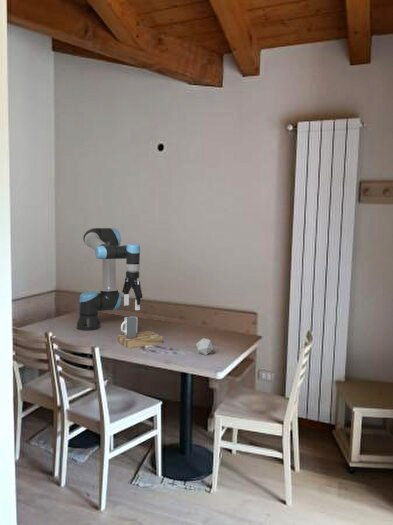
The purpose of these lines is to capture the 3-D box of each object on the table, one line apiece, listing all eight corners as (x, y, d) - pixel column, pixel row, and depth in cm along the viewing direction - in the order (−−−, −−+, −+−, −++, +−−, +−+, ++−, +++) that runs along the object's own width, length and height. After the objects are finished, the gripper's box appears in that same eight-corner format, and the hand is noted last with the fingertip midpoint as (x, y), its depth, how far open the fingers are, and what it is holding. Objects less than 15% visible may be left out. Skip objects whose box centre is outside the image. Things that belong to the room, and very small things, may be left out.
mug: (124, 337, 284) (125, 321, 282) (116, 334, 289) (116, 318, 288) (140, 334, 292) (140, 318, 291) (131, 331, 298) (131, 315, 297)
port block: (117, 342, 274) (118, 335, 273) (150, 337, 286) (150, 330, 286) (129, 348, 262) (129, 341, 262) (162, 343, 275) (162, 336, 275)
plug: (126, 343, 271) (126, 316, 270) (132, 342, 274) (133, 316, 272) (129, 345, 268) (130, 318, 266) (135, 344, 270) (136, 317, 269)
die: (198, 351, 264) (191, 339, 259) (212, 344, 264) (206, 332, 259) (202, 361, 257) (195, 349, 252) (217, 353, 257) (210, 341, 252)
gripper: (117, 268, 274) (116, 303, 276) (137, 274, 254) (136, 312, 256) (128, 267, 278) (127, 302, 281) (149, 273, 258) (148, 311, 261)
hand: (131, 307), depth 269 cm, fingers open, 13 cm apart
